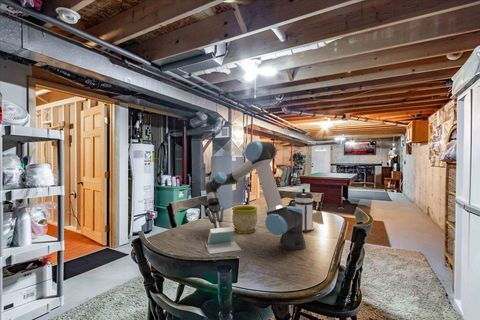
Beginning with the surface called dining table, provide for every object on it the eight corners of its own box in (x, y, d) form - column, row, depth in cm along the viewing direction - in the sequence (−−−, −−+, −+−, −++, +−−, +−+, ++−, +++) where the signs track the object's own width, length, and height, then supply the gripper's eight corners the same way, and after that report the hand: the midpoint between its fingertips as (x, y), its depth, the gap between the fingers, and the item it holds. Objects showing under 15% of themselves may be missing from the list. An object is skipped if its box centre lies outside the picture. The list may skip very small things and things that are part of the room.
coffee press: (311, 227, 185) (312, 187, 184) (316, 233, 169) (316, 190, 168) (288, 226, 186) (288, 186, 186) (290, 233, 170) (290, 189, 170)
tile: (207, 240, 150) (210, 229, 143) (229, 238, 155) (233, 226, 147) (208, 245, 148) (211, 233, 141) (230, 242, 152) (234, 231, 145)
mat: (205, 245, 147) (205, 244, 147) (234, 242, 153) (234, 241, 153) (210, 254, 134) (210, 253, 134) (241, 250, 139) (241, 249, 139)
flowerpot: (247, 236, 163) (247, 211, 163) (227, 231, 174) (226, 208, 174) (262, 229, 178) (262, 207, 177) (242, 225, 188) (242, 204, 188)
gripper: (221, 203, 172) (227, 234, 156) (202, 204, 167) (207, 236, 152) (223, 196, 166) (230, 228, 151) (204, 197, 162) (208, 230, 147)
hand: (218, 232), depth 151 cm, fingers closed
